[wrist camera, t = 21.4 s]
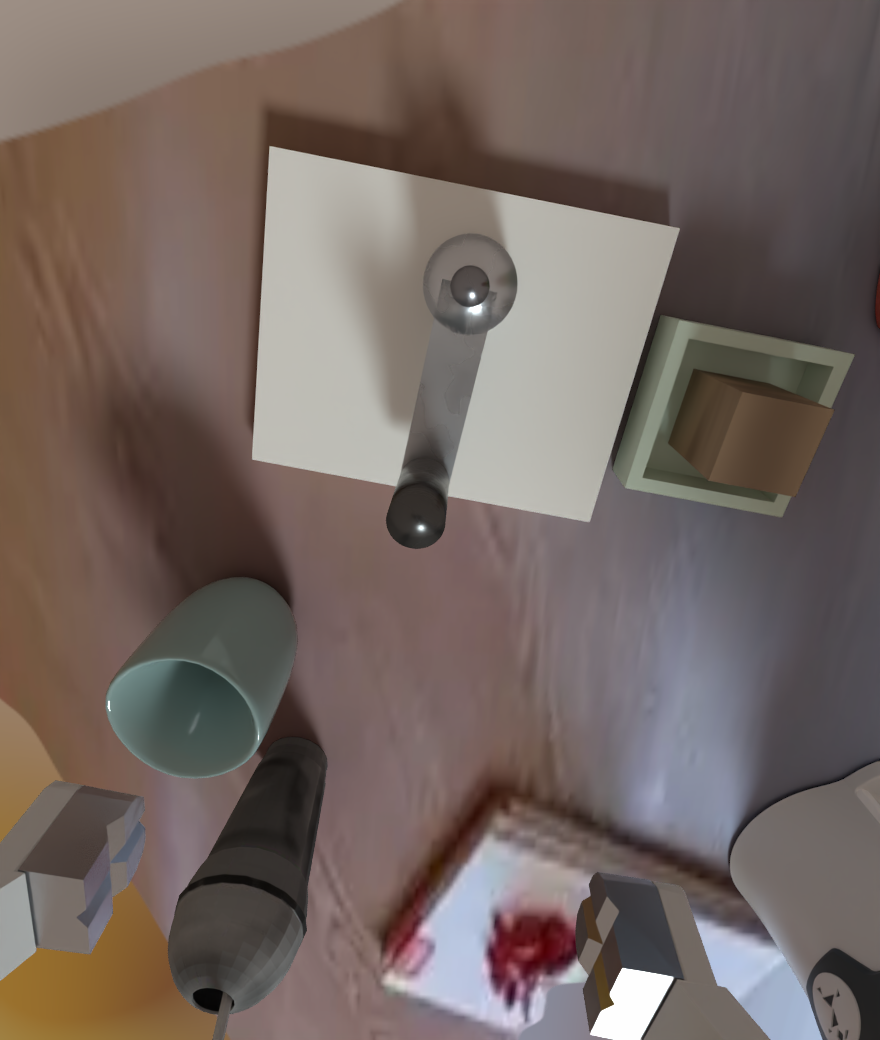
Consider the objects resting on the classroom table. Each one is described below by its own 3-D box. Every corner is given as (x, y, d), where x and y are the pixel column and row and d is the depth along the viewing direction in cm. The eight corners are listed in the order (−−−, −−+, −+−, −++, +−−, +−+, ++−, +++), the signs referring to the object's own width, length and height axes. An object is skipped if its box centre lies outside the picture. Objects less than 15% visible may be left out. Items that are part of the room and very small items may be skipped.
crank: (438, 226, 28) (426, 213, 20) (522, 248, 28) (542, 243, 20) (388, 471, 32) (362, 536, 25) (460, 488, 33) (456, 558, 25)
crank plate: (670, 230, 29) (680, 228, 27) (584, 512, 35) (589, 522, 33) (279, 151, 28) (268, 145, 27) (260, 451, 34) (251, 459, 33)
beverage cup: (250, 712, 42) (79, 1063, 24) (352, 732, 42) (262, 1093, 24) (244, 787, 45) (87, 1151, 27) (339, 805, 45) (250, 1177, 27)
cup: (331, 640, 39) (289, 755, 30) (231, 676, 41) (162, 796, 32) (272, 541, 37) (206, 634, 27) (167, 583, 38) (71, 685, 29)
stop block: (769, 383, 31) (834, 409, 25) (740, 457, 32) (795, 496, 27) (693, 368, 31) (742, 392, 25) (667, 443, 32) (708, 480, 27)
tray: (820, 346, 31) (855, 354, 28) (756, 496, 34) (782, 517, 31) (660, 314, 30) (679, 320, 28) (612, 469, 34) (624, 487, 31)
